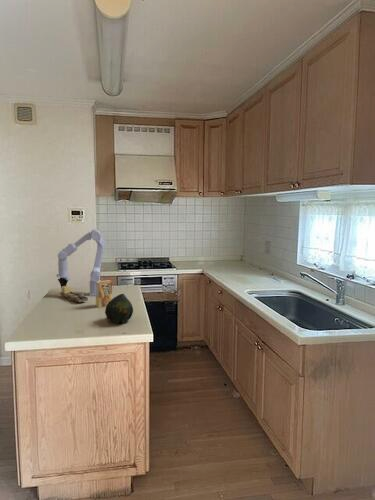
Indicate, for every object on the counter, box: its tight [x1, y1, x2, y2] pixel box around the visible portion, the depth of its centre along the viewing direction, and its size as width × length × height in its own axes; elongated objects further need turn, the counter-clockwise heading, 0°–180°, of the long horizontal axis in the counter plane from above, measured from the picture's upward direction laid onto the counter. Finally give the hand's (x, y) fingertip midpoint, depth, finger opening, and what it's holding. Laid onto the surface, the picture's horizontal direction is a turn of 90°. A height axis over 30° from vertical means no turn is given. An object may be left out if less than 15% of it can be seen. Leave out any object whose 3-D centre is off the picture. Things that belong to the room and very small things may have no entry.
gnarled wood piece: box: [59, 290, 89, 303], centre depth 237 cm, size 24×7×6 cm, turn 46°
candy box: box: [95, 279, 113, 309], centre depth 223 cm, size 9×4×15 cm, turn 129°
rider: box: [61, 285, 71, 294], centre depth 244 cm, size 4×4×4 cm
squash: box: [104, 293, 134, 324], centre depth 197 cm, size 14×15×15 cm
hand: (63, 289), depth 246 cm, fingers closed
